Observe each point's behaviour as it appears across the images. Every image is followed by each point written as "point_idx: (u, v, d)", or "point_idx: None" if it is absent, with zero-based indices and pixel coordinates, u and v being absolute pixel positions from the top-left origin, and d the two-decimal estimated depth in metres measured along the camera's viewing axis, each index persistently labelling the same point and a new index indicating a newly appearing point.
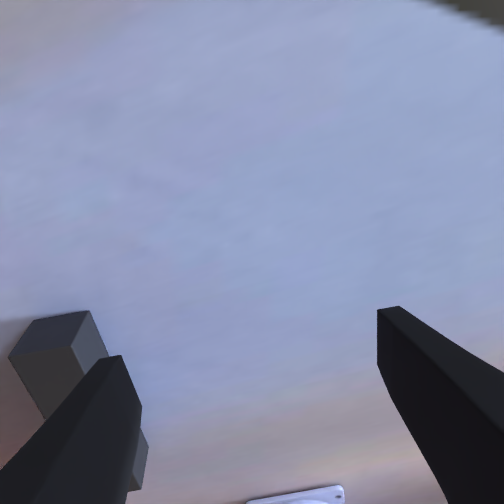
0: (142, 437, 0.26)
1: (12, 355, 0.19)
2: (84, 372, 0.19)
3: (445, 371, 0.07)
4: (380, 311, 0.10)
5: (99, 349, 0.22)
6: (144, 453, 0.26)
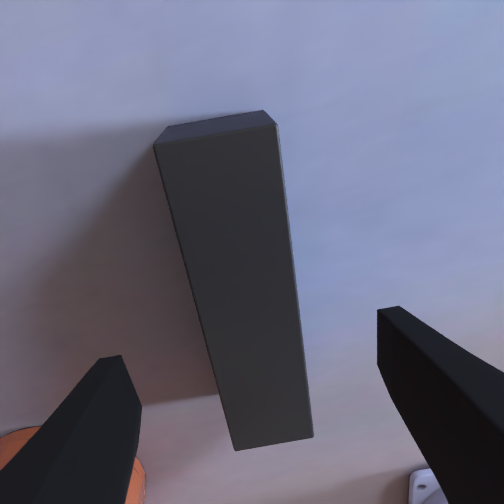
0: None
1: (161, 142, 0.09)
2: (284, 192, 0.10)
3: (445, 371, 0.07)
4: (380, 312, 0.10)
5: None
6: None
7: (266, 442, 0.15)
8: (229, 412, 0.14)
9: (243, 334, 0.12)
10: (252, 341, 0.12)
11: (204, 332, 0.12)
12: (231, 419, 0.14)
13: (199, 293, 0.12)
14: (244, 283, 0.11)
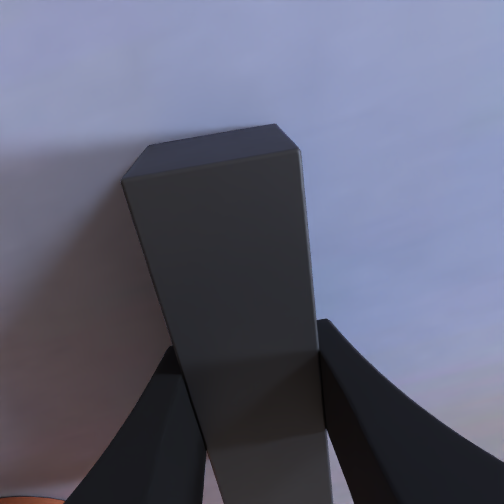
0: None
1: (133, 176, 0.07)
2: (307, 242, 0.07)
3: (345, 389, 0.07)
4: None
5: None
6: None
7: None
8: (230, 503, 0.11)
9: (249, 417, 0.09)
10: (260, 424, 0.10)
11: (197, 416, 0.09)
12: None
13: (190, 370, 0.09)
14: (251, 357, 0.09)
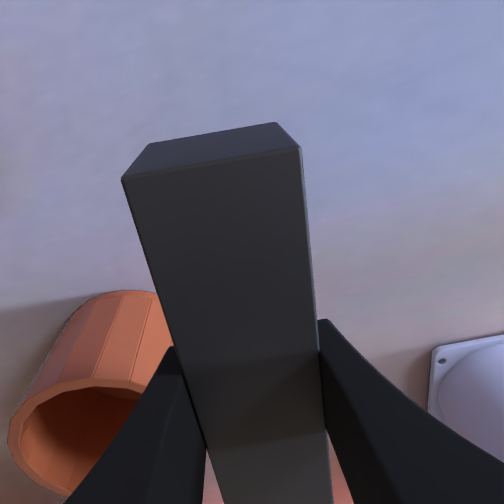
0: None
1: (133, 174, 0.07)
2: (308, 240, 0.07)
3: (345, 389, 0.07)
4: None
5: None
6: None
7: None
8: (230, 502, 0.11)
9: (249, 415, 0.09)
10: (260, 423, 0.10)
11: (198, 414, 0.09)
12: None
13: (190, 368, 0.09)
14: (251, 355, 0.09)
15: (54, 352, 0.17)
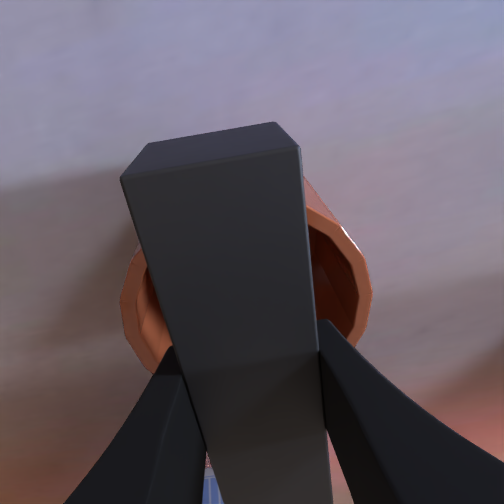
0: None
1: (132, 174, 0.07)
2: (307, 240, 0.07)
3: (345, 389, 0.07)
4: None
5: None
6: None
7: None
8: (230, 502, 0.11)
9: (248, 415, 0.09)
10: (259, 423, 0.10)
11: (197, 414, 0.09)
12: None
13: (190, 368, 0.09)
14: (250, 355, 0.09)
15: None
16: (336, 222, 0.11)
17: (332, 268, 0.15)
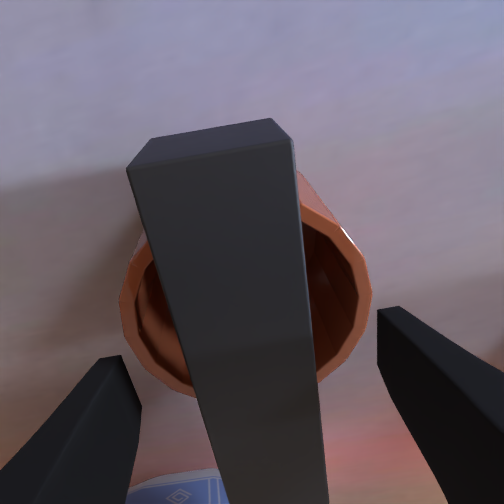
0: None
1: (137, 165, 0.07)
2: (300, 227, 0.08)
3: (445, 371, 0.07)
4: (380, 311, 0.10)
5: None
6: None
7: None
8: (228, 481, 0.12)
9: (246, 395, 0.10)
10: (256, 403, 0.10)
11: (197, 395, 0.10)
12: (231, 489, 0.12)
13: (190, 350, 0.09)
14: (248, 338, 0.09)
15: None
16: (336, 222, 0.11)
17: (332, 268, 0.15)
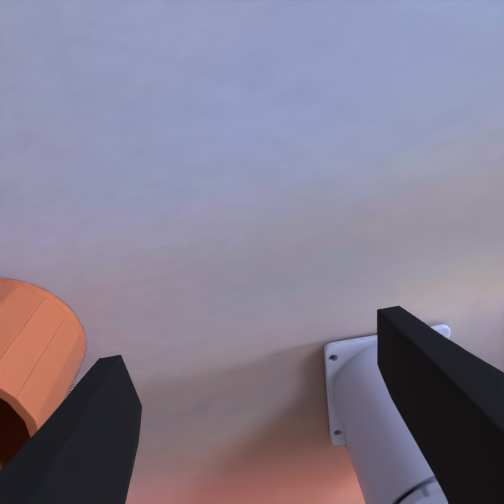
0: None
1: None
2: None
3: (445, 371, 0.07)
4: (380, 311, 0.10)
5: None
6: None
7: None
8: None
9: None
10: None
11: None
12: None
13: None
14: None
15: None
16: None
17: None
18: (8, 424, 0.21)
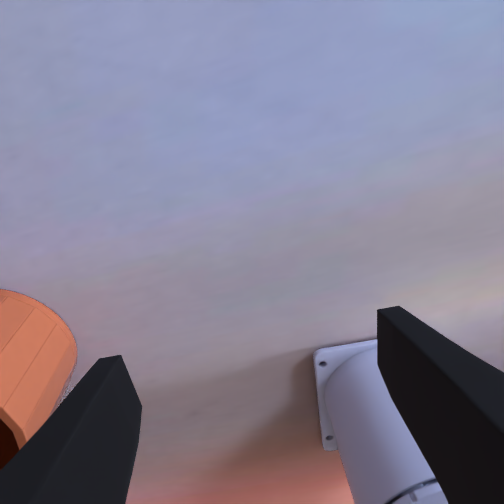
0: None
1: None
2: None
3: (445, 371, 0.07)
4: (380, 311, 0.10)
5: None
6: None
7: None
8: None
9: None
10: None
11: None
12: None
13: None
14: None
15: None
16: None
17: None
18: (0, 432, 0.21)
